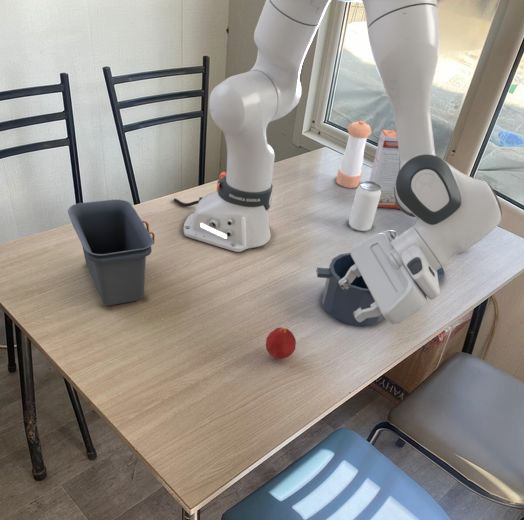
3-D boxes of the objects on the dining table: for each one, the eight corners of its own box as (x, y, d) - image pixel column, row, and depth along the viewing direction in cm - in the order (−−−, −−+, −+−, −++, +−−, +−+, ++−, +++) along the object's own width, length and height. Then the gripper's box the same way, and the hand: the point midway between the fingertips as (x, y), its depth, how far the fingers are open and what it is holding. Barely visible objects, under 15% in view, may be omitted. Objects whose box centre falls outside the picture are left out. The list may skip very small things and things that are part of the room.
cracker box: (408, 201, 164) (430, 133, 150) (412, 211, 159) (435, 141, 145) (363, 197, 163) (381, 127, 149) (367, 206, 158) (385, 136, 144)
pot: (307, 284, 125) (314, 249, 119) (388, 289, 127) (400, 255, 121) (314, 323, 114) (322, 287, 108) (403, 329, 116) (416, 294, 110)
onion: (260, 349, 106) (264, 318, 101) (287, 346, 108) (293, 315, 103) (268, 369, 102) (273, 338, 97) (296, 365, 104) (303, 335, 99)
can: (370, 233, 146) (382, 193, 138) (347, 229, 147) (357, 188, 139) (371, 223, 151) (383, 183, 143) (349, 218, 151) (359, 178, 143)
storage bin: (72, 261, 121) (63, 203, 112) (139, 250, 127) (136, 195, 118) (95, 317, 108) (87, 257, 98) (168, 302, 114) (168, 244, 104)
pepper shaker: (363, 186, 168) (378, 124, 156) (344, 189, 165) (359, 126, 153) (349, 176, 173) (363, 115, 160) (331, 179, 170) (344, 117, 157)
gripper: (384, 215, 99) (324, 260, 104) (427, 279, 85) (355, 328, 89) (399, 236, 103) (341, 278, 108) (443, 301, 89) (373, 347, 93)
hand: (348, 301), depth 98 cm, fingers open, 8 cm apart
